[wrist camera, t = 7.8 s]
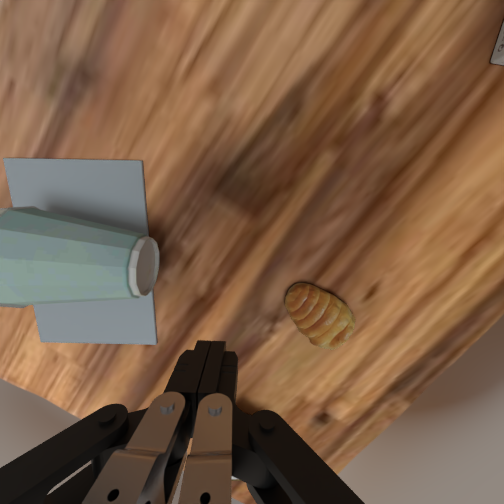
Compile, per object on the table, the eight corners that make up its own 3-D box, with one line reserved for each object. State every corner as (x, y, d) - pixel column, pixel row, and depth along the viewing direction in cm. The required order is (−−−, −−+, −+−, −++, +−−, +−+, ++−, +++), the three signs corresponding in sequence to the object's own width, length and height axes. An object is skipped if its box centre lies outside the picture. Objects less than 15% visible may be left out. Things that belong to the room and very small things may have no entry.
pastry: (271, 304, 34) (273, 317, 30) (306, 268, 32) (313, 277, 29) (320, 345, 35) (328, 363, 31) (356, 312, 34) (368, 326, 30)
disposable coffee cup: (132, 210, 21) (-47, 189, 21) (116, 337, 21) (-65, 318, 21) (170, 226, 32) (52, 212, 32) (160, 310, 32) (40, 297, 31)
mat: (6, 158, 29) (3, 158, 29) (142, 161, 29) (141, 160, 29) (43, 340, 35) (40, 342, 35) (157, 342, 35) (156, 344, 34)
